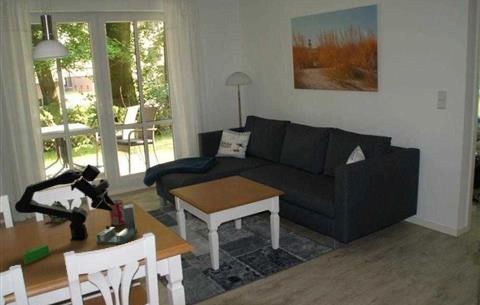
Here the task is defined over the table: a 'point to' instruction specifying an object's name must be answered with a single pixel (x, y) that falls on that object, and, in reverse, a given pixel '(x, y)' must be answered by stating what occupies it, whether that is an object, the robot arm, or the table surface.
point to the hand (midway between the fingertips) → (113, 207)
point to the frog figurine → (57, 219)
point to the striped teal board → (115, 235)
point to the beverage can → (117, 213)
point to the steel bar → (129, 216)
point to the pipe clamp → (35, 253)
